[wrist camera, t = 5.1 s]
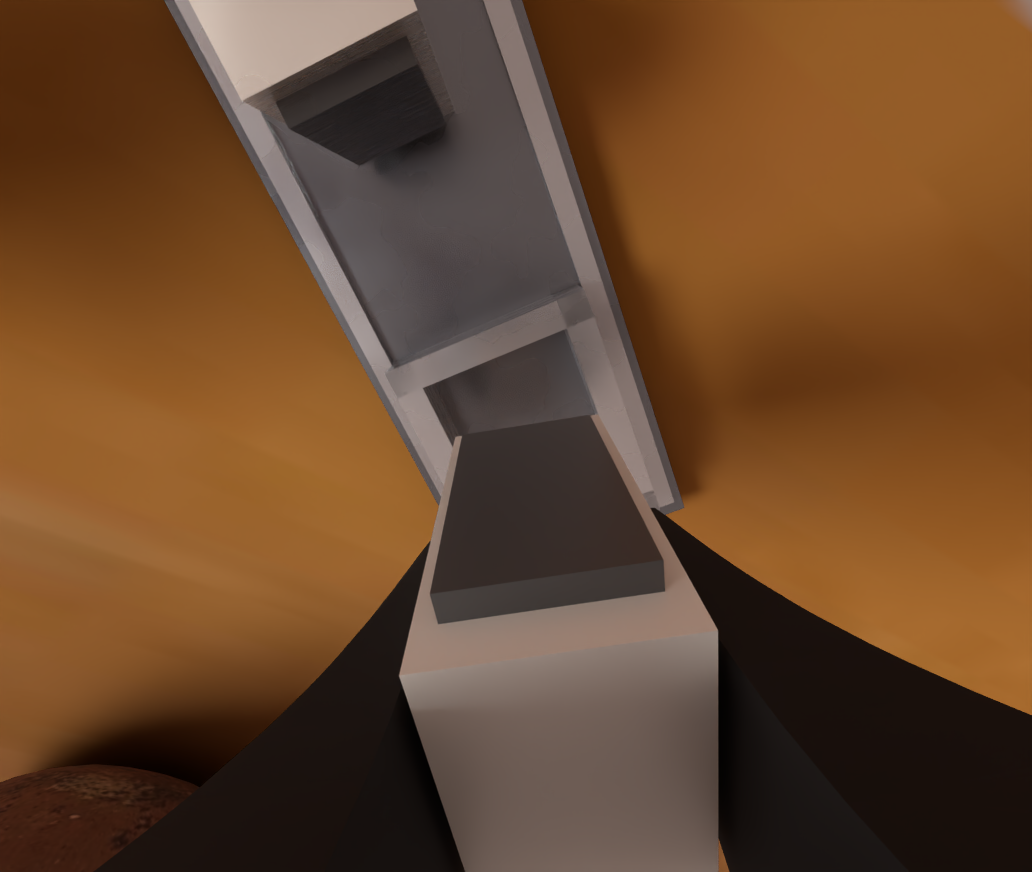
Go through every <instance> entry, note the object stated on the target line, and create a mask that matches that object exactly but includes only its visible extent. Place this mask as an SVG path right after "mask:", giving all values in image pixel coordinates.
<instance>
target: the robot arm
mask: <svg viewBox="0 0 1032 872" xmlns="http://www.w3.org/2000/svg"><path fill="white" fill-rule="evenodd" d="M650 509H651V511H652V512H653V514H654V516H655V518H656V520H657V521H658V523H659V525H660V527H661V529H662V530H663V532H664V534H665V536H666V538H667V539H668V541H669V543H670V545H671V547H672V548H673V550H674V552H675V554H676V556H677V557H678V559H679V561H680V563H681V565H682V566H683V568H684V570H685V572H686V574H687V575H688V577H689V579H690V581H691V583H692V584H693V586H694V588H695V590H696V592H697V593H698V595H699V597H700V599H701V601H702V602H703V604H704V606H705V608H706V610H707V611H708V613H709V615H710V617H711V619H712V620H713V622H714V624H715V626H716V628H717V629H718V838H719V841H720V844H721V847H722V850H723V853H724V856H725V859H726V862H727V865H728V868H729V871H730V872H1032V715H1029V714H1027V713H1025V712H1022V711H1020V710H1017V709H1015V708H1012V707H1010V706H1008V705H1005V704H1003V703H1000V702H998V701H995V700H993V699H991V698H988V697H986V696H983V695H981V694H979V693H976V692H974V691H972V690H969V689H967V688H965V687H963V686H960V685H958V684H956V683H954V682H951V681H949V680H947V679H945V678H942V677H940V676H938V675H936V674H934V673H931V672H929V671H927V670H925V669H922V668H920V667H918V666H916V665H913V664H911V663H909V662H907V661H905V660H902V659H900V658H898V657H896V656H894V655H892V654H890V653H888V652H886V651H884V650H882V649H880V648H877V647H875V646H873V645H871V644H869V643H867V642H866V641H864V640H862V639H860V638H858V637H856V636H854V635H852V634H850V633H848V632H846V631H844V630H843V629H841V628H839V627H837V626H835V625H833V624H831V623H829V622H827V621H825V620H823V619H822V618H820V617H818V616H816V615H814V614H812V613H811V612H809V611H807V610H805V609H804V608H802V607H800V606H798V605H797V604H795V603H793V602H792V601H790V600H788V599H787V598H785V597H783V596H782V595H780V594H778V593H777V592H775V591H774V590H772V589H770V588H769V587H767V586H765V585H764V584H762V583H760V582H759V581H757V580H756V579H754V578H753V577H751V576H750V575H748V574H746V573H745V572H743V571H742V570H740V569H739V568H737V567H736V566H734V565H733V564H731V563H730V562H728V561H727V560H726V559H724V558H723V557H721V556H720V555H718V554H717V553H715V552H714V551H713V550H711V549H710V548H708V547H707V546H706V545H704V544H703V543H702V542H700V541H699V540H698V539H696V538H695V537H694V536H692V535H691V534H689V533H688V532H687V531H685V530H684V529H683V528H681V527H680V526H679V525H678V524H676V523H675V522H674V521H672V520H671V519H670V518H668V517H667V516H666V515H664V514H663V513H662V512H660V511H659V510H657V509H656V508H650ZM430 542H431V541H430ZM430 542H429V543H428V544H427V546H426V547H425V548H424V550H423V551H422V552H421V553H420V555H419V556H418V557H417V559H416V560H415V561H414V563H413V564H412V565H411V567H410V568H409V569H408V571H407V572H406V573H405V575H404V576H403V577H402V579H401V580H400V581H399V583H398V584H397V585H396V587H395V588H394V589H393V591H392V592H391V593H390V594H389V596H388V597H387V598H386V599H385V601H384V602H383V603H382V604H381V606H380V607H379V608H378V610H377V611H376V612H375V613H374V615H373V616H372V617H371V618H370V620H369V621H368V622H367V623H366V624H365V626H364V627H363V628H362V629H361V630H360V631H359V633H358V634H357V635H356V636H355V637H354V638H353V639H352V641H351V642H350V643H349V644H348V645H347V646H346V648H345V649H344V650H343V651H342V652H341V653H340V654H339V656H338V657H337V658H336V659H335V660H334V661H333V662H332V664H331V665H330V666H329V667H328V668H327V669H326V670H325V671H324V672H323V673H322V674H321V675H320V676H319V677H318V678H317V679H316V680H315V682H314V683H313V684H312V685H311V686H310V687H309V688H308V689H307V690H306V691H305V692H304V693H303V694H302V695H301V696H300V697H299V698H298V699H297V700H296V701H295V702H294V703H293V704H292V705H290V706H289V707H288V708H287V709H286V710H285V711H284V712H283V713H282V714H281V715H280V716H279V717H278V718H277V719H276V720H275V721H274V722H273V723H272V724H271V725H270V726H269V727H268V728H267V729H265V730H264V731H263V732H262V733H261V734H260V735H259V736H258V737H257V738H255V739H254V740H253V741H252V742H251V743H250V744H249V745H247V746H246V747H245V748H244V749H243V750H242V751H241V752H239V753H238V754H237V755H236V756H235V757H234V758H233V759H231V760H230V761H229V762H228V763H227V764H226V765H225V766H223V767H222V768H221V769H220V770H219V771H218V772H217V773H215V774H214V775H213V776H212V777H211V778H210V779H209V780H207V781H206V782H205V783H204V784H203V785H202V786H201V787H199V788H198V789H197V790H196V791H195V792H194V793H192V794H191V795H190V796H189V797H188V798H186V799H185V800H184V801H183V802H181V803H180V804H179V805H178V806H176V807H175V808H174V809H173V810H172V811H170V812H169V813H168V814H167V815H165V816H164V817H163V818H162V819H160V820H159V821H158V822H157V823H155V824H154V825H153V826H152V827H150V828H149V829H148V830H147V831H145V832H144V833H143V834H142V835H140V836H139V837H138V838H136V839H135V840H134V841H133V842H131V843H130V844H129V845H127V846H126V847H125V848H123V849H122V850H121V851H120V852H118V853H117V854H116V855H114V856H113V857H112V858H110V859H109V860H108V861H107V862H105V863H104V864H103V865H101V866H100V867H99V868H97V869H96V870H95V871H94V872H465V870H464V867H463V864H462V861H461V858H460V855H459V852H458V849H457V846H456V843H455V840H454V837H453V834H452V831H451V828H450V825H449V822H448V819H447V816H446V813H445V810H444V807H443V804H442V802H441V799H440V796H439V793H438V790H437V787H436V784H435V781H434V778H433V775H432V772H431V769H430V766H429V763H428V760H427V757H426V754H425V751H424V748H423V745H422V742H421V739H420V736H419V733H418V730H417V727H416V724H415V721H414V718H413V716H412V713H411V710H410V707H409V704H408V701H407V698H406V695H405V692H404V689H403V686H402V683H401V680H400V677H399V674H400V669H401V665H402V661H403V657H404V653H405V648H406V644H407V640H408V636H409V631H410V627H411V623H412V619H413V614H414V610H415V606H416V602H417V597H418V593H419V589H420V585H421V581H422V576H423V572H424V568H425V564H426V559H427V555H428V551H429V547H430Z"/></svg>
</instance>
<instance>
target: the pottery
mask: <svg viewBox="0 0 1032 872" xmlns="http://www.w3.org/2000/svg"><path fill="white" fill-rule="evenodd" d="M198 788H199V787H198V786H196V785H194V784H192V783H190V782H186V781H183V780H180V779H177V778H174V777H171V776H168V775H165V774H161V773H157V772H152V771H147V770H142V769H137V768H131V767H123V766H111V765H100V764H91V765H78V766H66V767H57V768H50V769H46V770H41V771H37V772H33V773H29V774H25V775H21V776H17V777H14V778H11V779H8V780H6V781H3V782H1V783H0V872H94V871H95V870H96V869H97V868H99V867H100V866H101V865H103V864H104V863H105V862H107V861H108V860H109V859H110V858H112V857H113V856H114V855H116V854H117V853H118V852H120V851H121V850H122V849H123V848H125V847H126V846H127V845H129V844H130V843H131V842H133V841H134V840H135V839H136V838H138V837H139V836H140V835H142V834H143V833H144V832H145V831H147V830H148V829H149V828H150V827H152V826H153V825H154V824H155V823H157V822H158V821H159V820H160V819H162V818H163V817H164V816H165V815H167V814H168V813H169V812H170V811H172V810H173V809H174V808H175V807H176V806H178V805H179V804H180V803H181V802H183V801H184V800H185V799H186V798H188V797H189V796H190V795H191V794H192V793H194V792H195V791H196V790H197V789H198Z"/></svg>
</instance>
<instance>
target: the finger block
mask: <svg viewBox="0 0 1032 872" xmlns="http://www.w3.org/2000/svg"><path fill="white" fill-rule="evenodd" d="M399 677H400V680H401V683H402V686H403V689H404V692H405V695H406V698H407V701H408V704H409V707H410V710H411V713H412V716H413V718H414V721H415V724H416V727H417V730H418V733H419V736H420V739H421V742H422V745H423V748H424V751H425V754H426V757H427V760H428V763H429V766H430V769H431V772H432V775H433V778H434V781H435V784H436V787H437V790H438V793H439V796H440V799H441V802H442V804H443V807H444V810H445V813H446V816H447V819H448V822H449V825H450V828H451V831H452V834H453V837H454V840H455V843H456V846H457V849H458V852H459V855H460V858H461V861H462V864H463V867H464V870H465V872H718V629H717V628H716V626H715V624H714V622H713V620H712V619H711V617H710V615H709V613H708V611H707V610H706V608H705V606H704V604H703V602H702V601H701V599H700V597H699V595H698V593H697V592H696V590H695V588H694V586H693V584H692V583H691V581H690V579H689V577H688V575H687V574H686V572H685V570H684V568H683V566H682V565H681V563H680V561H679V559H678V557H677V556H676V554H675V552H674V550H673V548H672V547H671V545H670V543H669V541H668V539H667V538H666V536H665V534H664V532H663V530H662V529H661V527H660V525H659V523H658V521H657V520H656V518H655V516H654V514H653V512H652V511H651V509H650V507H649V505H648V503H647V502H646V500H645V498H644V496H643V494H642V493H641V491H640V489H639V487H638V485H637V484H636V482H635V480H634V478H633V476H632V475H631V473H630V471H629V469H628V467H627V466H626V464H625V462H624V460H623V458H622V457H621V455H620V453H619V451H618V449H617V448H616V446H615V444H614V442H613V440H612V439H611V437H610V435H609V433H608V431H607V430H606V428H605V426H604V424H603V422H602V421H601V419H600V417H599V415H598V414H597V415H591V416H590V415H584V416H578V417H572V418H565V419H559V420H553V421H546V422H540V423H534V424H527V425H521V426H515V427H509V428H502V429H496V430H490V431H483V432H477V433H471V434H464V435H462V436H458V437H455V441H454V445H453V449H452V454H451V458H450V462H449V466H448V471H447V475H446V479H445V483H444V487H443V492H442V496H441V500H440V504H439V509H438V513H437V517H436V521H435V526H434V530H433V534H432V538H431V542H430V547H429V551H428V555H427V559H426V564H425V568H424V572H423V576H422V581H421V585H420V589H419V593H418V597H417V602H416V606H415V610H414V614H413V619H412V623H411V627H410V631H409V636H408V640H407V644H406V648H405V653H404V657H403V661H402V665H401V669H400V674H399Z"/></svg>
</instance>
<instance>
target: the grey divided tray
mask: <svg viewBox="0 0 1032 872" xmlns="http://www.w3.org/2000/svg"><path fill="white" fill-rule="evenodd" d="M164 1H165V3H166V5H167V7H168V9H169V11H170V12H171V14H172V16H173V18H174V20H175V22H176V23H177V25H178V27H179V29H180V31H181V33H182V34H183V36H184V38H185V40H186V42H187V44H188V46H189V47H190V49H191V51H192V53H193V55H194V57H195V58H196V60H197V62H198V64H199V66H200V68H201V69H202V71H203V73H204V75H205V77H206V79H207V80H208V82H209V84H210V86H211V88H212V90H213V92H214V93H215V95H216V97H217V99H218V101H219V103H220V104H221V106H222V108H223V110H224V112H225V114H226V115H227V117H228V119H229V121H230V123H231V125H232V126H233V128H234V130H235V132H236V134H237V136H238V137H239V139H240V141H241V143H242V145H243V147H244V149H245V150H246V152H247V154H248V156H249V158H250V160H251V161H252V163H253V165H254V167H255V169H256V171H257V172H258V174H259V176H260V178H261V180H262V182H263V183H264V185H265V187H266V189H267V191H268V193H269V195H270V196H271V198H272V200H273V202H274V204H275V206H276V207H277V209H278V211H279V213H280V215H281V217H282V218H283V220H284V222H285V224H286V226H287V228H288V229H289V231H290V233H291V235H292V237H293V239H294V241H295V242H296V244H297V246H298V248H299V250H300V252H301V253H302V255H303V257H304V259H305V261H306V263H307V264H308V266H309V268H310V270H311V272H312V274H313V275H314V277H315V279H316V281H317V283H318V285H319V286H320V288H321V290H322V292H323V294H324V296H325V298H326V299H327V301H328V303H329V305H330V307H331V309H332V310H333V312H334V314H335V316H336V318H337V320H338V321H339V323H340V325H341V327H342V329H343V331H344V332H345V334H346V336H347V338H348V340H349V342H350V344H351V345H352V347H353V349H354V351H355V353H356V355H357V356H358V358H359V360H360V362H361V364H362V366H363V367H364V369H365V371H366V373H367V375H368V377H369V378H370V380H371V382H372V384H373V386H374V388H375V389H376V391H377V393H378V395H379V397H380V399H381V401H382V402H383V404H384V406H385V408H386V410H387V412H388V413H389V415H390V417H391V419H392V421H393V423H394V424H395V426H396V428H397V430H398V432H399V434H400V435H401V437H402V439H403V441H404V443H405V445H406V447H407V448H408V450H409V452H410V454H411V456H412V458H413V459H414V461H415V463H416V465H417V467H418V469H419V470H420V472H421V474H422V476H423V478H424V480H425V481H426V483H427V485H428V487H429V489H430V491H431V492H432V494H433V496H434V498H435V500H436V502H437V504H438V505H439V504H440V500H441V496H442V492H443V487H444V483H445V479H446V475H447V471H448V466H449V462H450V458H451V454H452V449H453V445H454V441H455V437H458V436H462V435H464V434H471V433H477V432H483V431H490V430H496V429H502V428H509V427H515V426H521V425H527V424H534V423H540V422H546V421H553V420H559V419H565V418H572V417H578V416H584V415H590V416H591V415H597V414H598V415H599V417H600V419H601V421H602V422H603V424H604V426H605V428H606V430H607V431H608V433H609V435H610V437H611V439H612V440H613V442H614V444H615V446H616V448H617V449H618V451H619V453H620V455H621V457H622V458H623V460H624V462H625V464H626V466H627V467H628V469H629V471H630V473H631V475H632V476H633V478H634V480H635V482H636V484H637V485H638V487H639V489H640V491H641V493H642V494H643V496H644V498H645V500H646V502H647V503H648V505H649V507H650V508H656V509H657V510H659V511H660V512H662V513H663V514H664V515H666V514H668V513H671V512H674V511H677V510H680V509H682V508H684V505H683V502H682V499H681V496H680V493H679V490H678V487H677V483H676V480H675V477H674V474H673V471H672V468H671V465H670V462H669V458H668V455H667V452H666V449H665V446H664V443H663V440H662V437H661V433H660V430H659V427H658V424H657V421H656V418H655V415H654V411H653V408H652V405H651V402H650V399H649V396H648V393H647V390H646V386H645V383H644V380H643V377H642V374H641V371H640V368H639V365H638V361H637V358H636V355H635V352H634V349H633V346H632V343H631V340H630V336H629V333H628V330H627V327H626V324H625V321H624V318H623V315H622V311H621V308H620V305H619V302H618V299H617V296H616V293H615V290H614V286H613V283H612V280H611V277H610V274H609V271H608V268H607V265H606V261H605V258H604V255H603V252H602V249H601V246H600V243H599V239H598V236H597V233H596V230H595V227H594V224H593V221H592V218H591V214H590V211H589V208H588V205H587V202H586V199H585V196H584V193H583V189H582V186H581V183H580V180H579V177H578V174H577V171H576V168H575V164H574V161H573V158H572V155H571V152H570V149H569V146H568V143H567V139H566V136H565V133H564V130H563V127H562V124H561V121H560V118H559V114H558V111H557V108H556V105H555V102H554V99H553V96H552V93H551V89H550V86H549V83H548V80H547V77H546V74H545V71H544V67H543V64H542V61H541V58H540V55H539V52H538V49H537V46H536V42H535V39H534V36H533V33H532V30H531V27H530V24H529V21H528V17H527V14H526V11H525V8H524V5H523V2H522V0H164Z"/></svg>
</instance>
